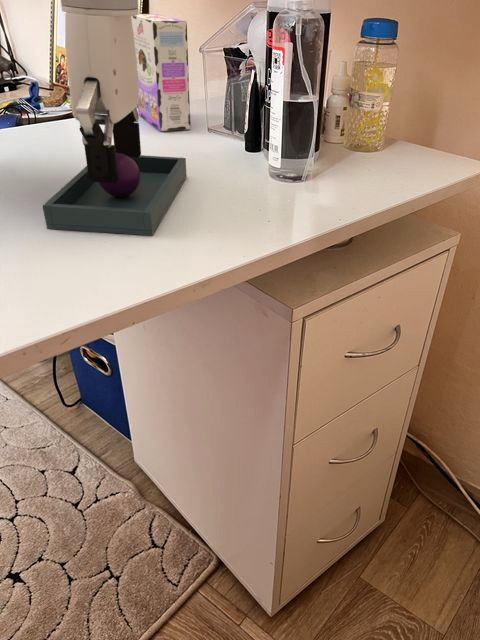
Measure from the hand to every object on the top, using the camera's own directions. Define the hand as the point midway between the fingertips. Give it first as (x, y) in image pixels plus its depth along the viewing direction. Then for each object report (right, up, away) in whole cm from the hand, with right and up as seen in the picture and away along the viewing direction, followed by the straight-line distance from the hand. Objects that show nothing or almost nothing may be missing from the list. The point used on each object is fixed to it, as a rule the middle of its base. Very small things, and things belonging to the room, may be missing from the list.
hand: (116, 167), depth 63 cm
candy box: (-1, +20, +34) cm, 39 cm away
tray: (0, -3, +2) cm, 4 cm away
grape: (+1, -3, +2) cm, 3 cm away
